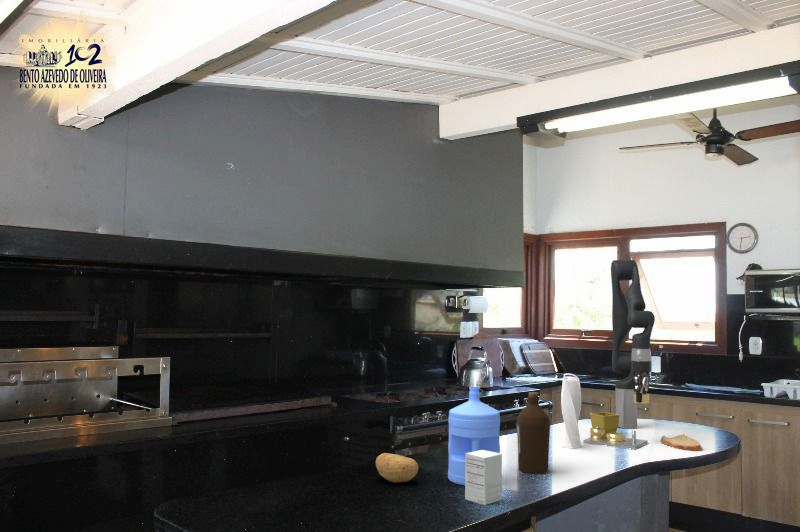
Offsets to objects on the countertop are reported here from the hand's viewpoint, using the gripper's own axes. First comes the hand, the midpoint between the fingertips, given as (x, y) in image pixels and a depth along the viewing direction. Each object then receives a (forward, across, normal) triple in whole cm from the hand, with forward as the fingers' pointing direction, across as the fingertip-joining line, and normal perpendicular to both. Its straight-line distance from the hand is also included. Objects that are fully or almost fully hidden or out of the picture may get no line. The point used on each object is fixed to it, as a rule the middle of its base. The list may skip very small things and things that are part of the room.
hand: (641, 401), depth 284 cm
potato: (+15, +119, -35) cm, 125 cm away
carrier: (+15, +15, -6) cm, 22 cm away
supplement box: (+15, +120, -5) cm, 121 cm away
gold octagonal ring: (+1, 0, 0) cm, 1 cm away
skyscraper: (+15, +34, -16) cm, 40 cm away
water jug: (+15, +103, -18) cm, 105 cm away
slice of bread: (+16, +2, +16) cm, 23 cm away
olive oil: (+15, +79, -10) cm, 81 cm away
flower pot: (+16, +1, -15) cm, 22 cm away
